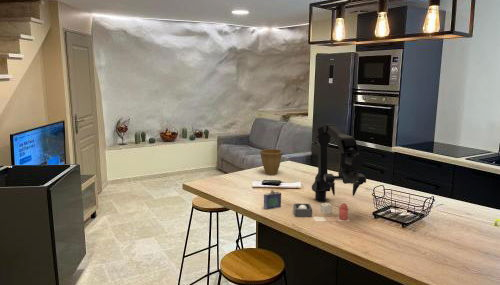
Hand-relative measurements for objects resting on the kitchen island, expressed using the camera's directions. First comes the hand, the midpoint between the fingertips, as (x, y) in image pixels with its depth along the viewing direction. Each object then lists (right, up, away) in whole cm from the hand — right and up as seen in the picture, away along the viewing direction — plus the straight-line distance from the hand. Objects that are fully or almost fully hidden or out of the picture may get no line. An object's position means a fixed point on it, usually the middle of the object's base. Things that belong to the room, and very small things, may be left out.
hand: (343, 195), depth 176 cm
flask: (-33, -9, +13) cm, 37 cm away
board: (-11, -11, +2) cm, 16 cm away
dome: (-19, -9, +4) cm, 21 cm away
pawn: (-1, -11, -2) cm, 11 cm away
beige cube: (-7, -9, +6) cm, 13 cm away
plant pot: (-30, +3, +80) cm, 85 cm away
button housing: (-19, -10, +4) cm, 22 cm away
